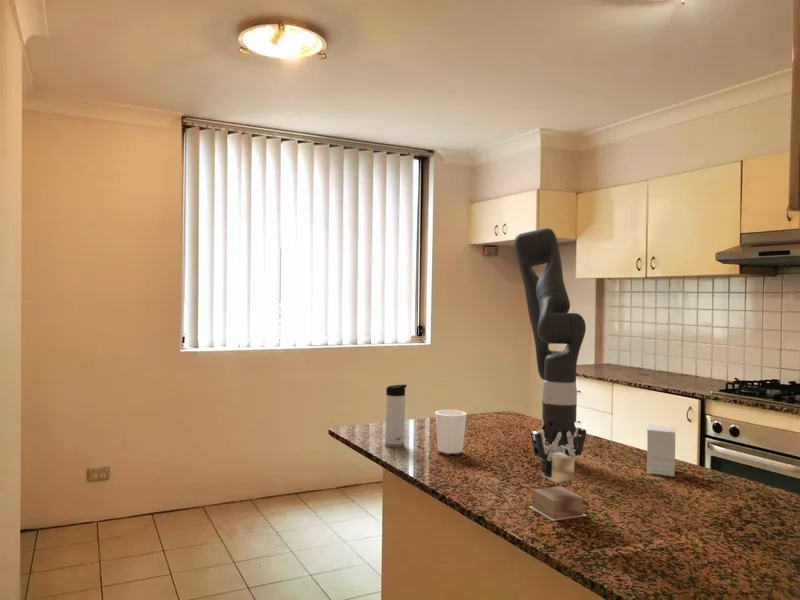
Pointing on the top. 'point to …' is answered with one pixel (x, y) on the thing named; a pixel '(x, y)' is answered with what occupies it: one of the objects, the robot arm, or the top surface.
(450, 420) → the cup
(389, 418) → the travel mug
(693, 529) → the top surface
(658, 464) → the supplement box
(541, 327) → the robot arm
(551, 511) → the walnut base
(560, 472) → the maple cube
